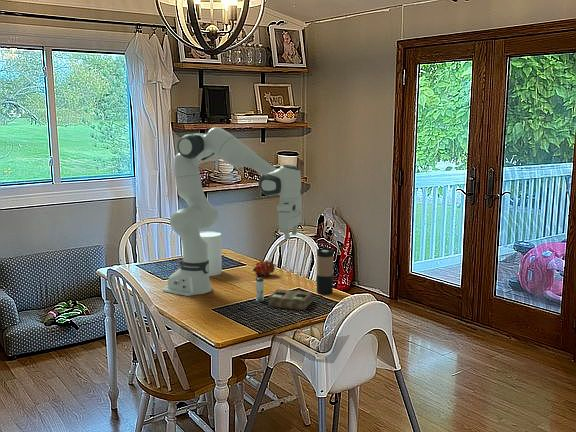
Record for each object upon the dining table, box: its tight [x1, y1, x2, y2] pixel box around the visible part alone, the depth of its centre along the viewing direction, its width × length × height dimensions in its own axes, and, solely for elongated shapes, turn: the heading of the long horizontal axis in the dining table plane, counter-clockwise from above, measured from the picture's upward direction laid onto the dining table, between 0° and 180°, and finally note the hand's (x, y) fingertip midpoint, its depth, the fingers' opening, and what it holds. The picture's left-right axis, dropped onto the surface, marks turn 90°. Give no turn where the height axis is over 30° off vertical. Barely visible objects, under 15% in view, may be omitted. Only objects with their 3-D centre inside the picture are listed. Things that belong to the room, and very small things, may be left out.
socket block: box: [267, 288, 313, 311], centre depth 260 cm, size 16×12×4 cm
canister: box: [199, 231, 223, 277], centre depth 308 cm, size 14×14×20 cm
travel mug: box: [316, 247, 335, 296], centre depth 275 cm, size 8×8×20 cm
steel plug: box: [255, 276, 265, 303], centre depth 264 cm, size 3×3×10 cm
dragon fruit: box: [252, 259, 276, 277], centre depth 304 cm, size 8×8×12 cm
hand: (290, 236), depth 255 cm, fingers open, 8 cm apart
